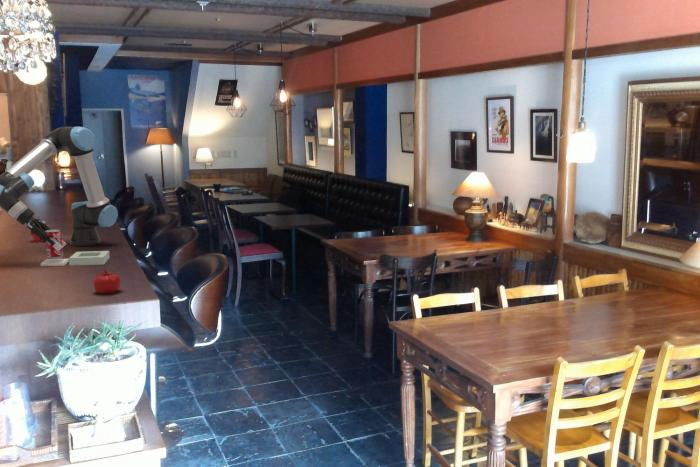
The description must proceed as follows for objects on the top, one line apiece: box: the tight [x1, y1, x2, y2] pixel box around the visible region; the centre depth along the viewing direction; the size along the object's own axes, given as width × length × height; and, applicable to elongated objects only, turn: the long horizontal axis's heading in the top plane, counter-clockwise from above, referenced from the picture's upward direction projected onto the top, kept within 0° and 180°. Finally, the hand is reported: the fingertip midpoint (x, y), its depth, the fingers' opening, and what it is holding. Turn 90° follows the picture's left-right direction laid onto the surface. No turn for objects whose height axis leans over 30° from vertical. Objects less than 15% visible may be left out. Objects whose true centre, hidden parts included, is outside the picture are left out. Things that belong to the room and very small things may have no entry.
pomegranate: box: [92, 268, 122, 295], centre depth 247 cm, size 10×10×9 cm
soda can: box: [44, 229, 64, 259], centre depth 295 cm, size 7×7×13 cm
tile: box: [40, 258, 69, 267], centre depth 297 cm, size 10×10×1 cm
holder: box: [68, 250, 111, 267], centre depth 301 cm, size 15×15×4 cm
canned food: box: [30, 220, 47, 243], centre depth 350 cm, size 8×8×11 cm
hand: (62, 247), depth 296 cm, fingers closed on soda can, 6 cm apart
